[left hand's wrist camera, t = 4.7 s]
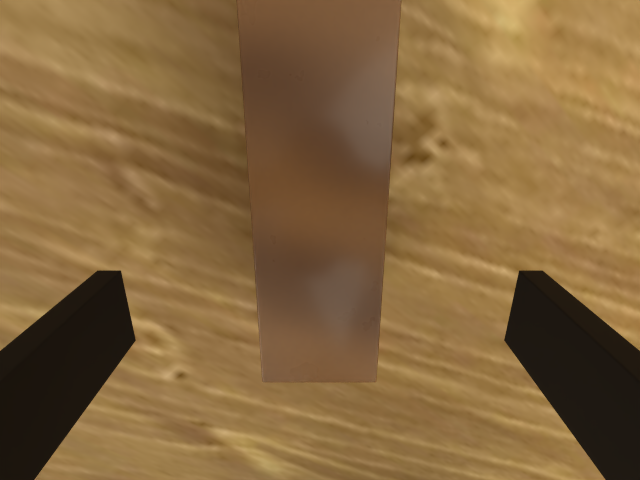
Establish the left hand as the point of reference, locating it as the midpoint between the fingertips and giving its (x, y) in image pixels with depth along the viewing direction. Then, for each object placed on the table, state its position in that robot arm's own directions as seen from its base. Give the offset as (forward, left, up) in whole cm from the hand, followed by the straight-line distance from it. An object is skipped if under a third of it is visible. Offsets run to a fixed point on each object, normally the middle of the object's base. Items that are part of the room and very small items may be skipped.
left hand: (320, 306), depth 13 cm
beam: (+29, 0, -11) cm, 31 cm away
